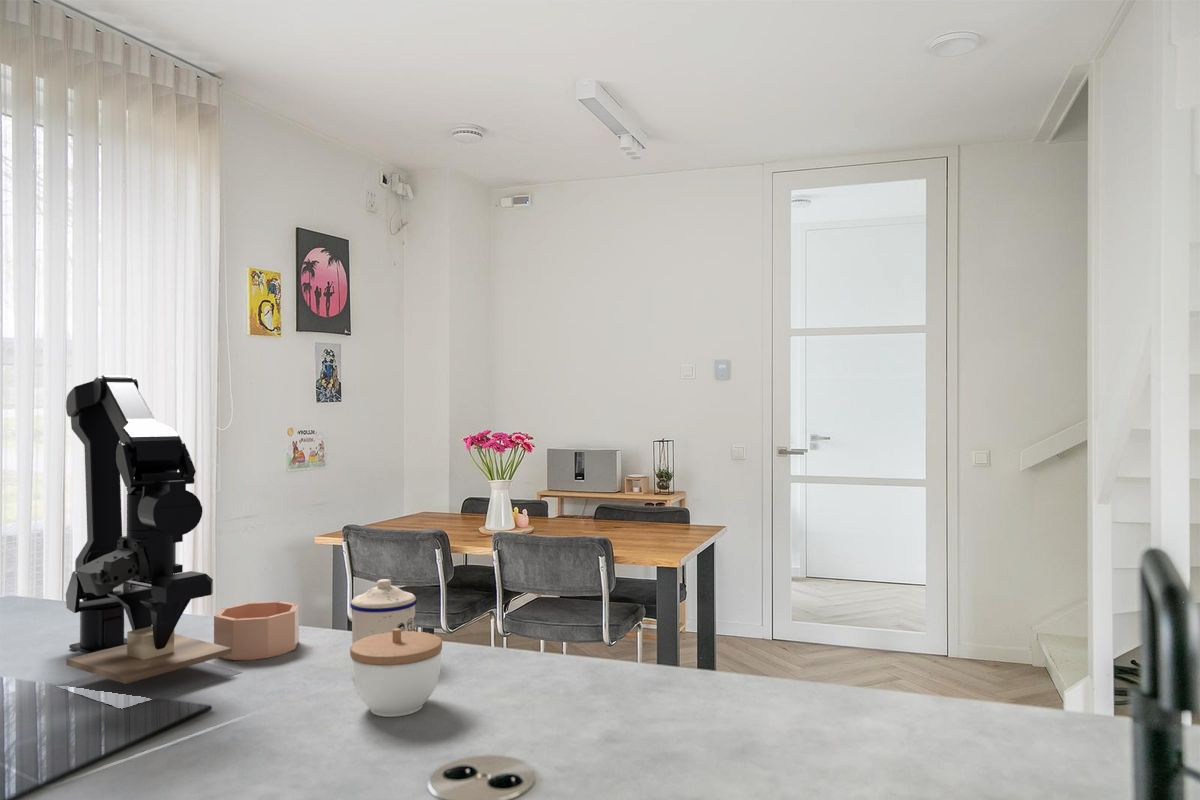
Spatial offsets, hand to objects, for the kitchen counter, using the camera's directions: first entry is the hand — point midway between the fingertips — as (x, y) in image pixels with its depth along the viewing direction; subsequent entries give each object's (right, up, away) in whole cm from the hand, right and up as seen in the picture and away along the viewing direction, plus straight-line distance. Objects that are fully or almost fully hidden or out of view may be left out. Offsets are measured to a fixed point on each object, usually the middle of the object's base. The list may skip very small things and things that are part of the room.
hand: (150, 646), depth 107 cm
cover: (0, -2, 0) cm, 2 cm away
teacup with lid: (+29, -5, +9) cm, 31 cm away
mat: (0, -5, 0) cm, 5 cm away
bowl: (+8, -5, +14) cm, 17 cm away
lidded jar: (+35, -5, -10) cm, 37 cm away
